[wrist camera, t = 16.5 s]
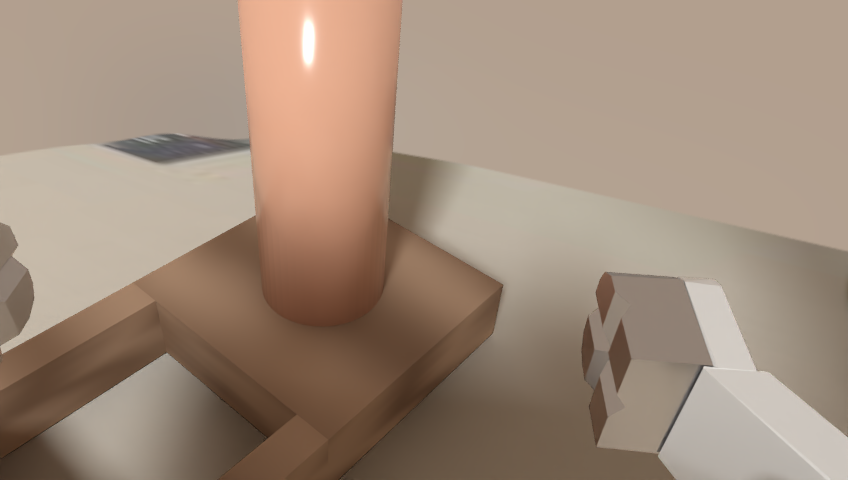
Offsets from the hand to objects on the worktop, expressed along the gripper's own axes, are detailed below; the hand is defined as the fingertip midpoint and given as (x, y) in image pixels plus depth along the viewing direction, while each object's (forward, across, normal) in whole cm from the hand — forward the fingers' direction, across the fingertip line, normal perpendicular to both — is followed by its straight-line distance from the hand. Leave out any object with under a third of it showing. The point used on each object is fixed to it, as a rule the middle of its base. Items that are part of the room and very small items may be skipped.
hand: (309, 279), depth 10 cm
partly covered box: (+10, +5, +16) cm, 20 cm away
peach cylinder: (+14, +2, +14) cm, 20 cm away
